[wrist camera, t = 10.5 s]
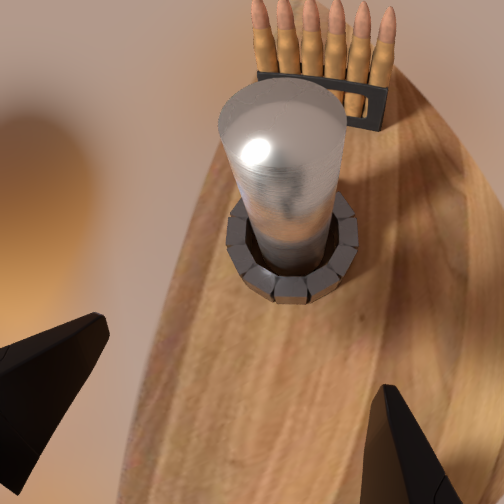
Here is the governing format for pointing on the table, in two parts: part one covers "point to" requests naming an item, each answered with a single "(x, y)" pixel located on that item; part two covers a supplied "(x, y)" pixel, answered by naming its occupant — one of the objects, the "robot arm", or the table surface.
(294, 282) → the ring
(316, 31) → the ammunition clip
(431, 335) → the table surface
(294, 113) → the silver tall cylinder
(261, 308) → the table surface
